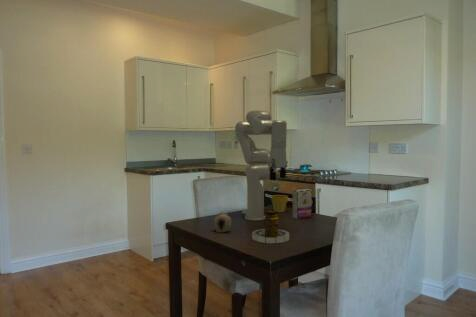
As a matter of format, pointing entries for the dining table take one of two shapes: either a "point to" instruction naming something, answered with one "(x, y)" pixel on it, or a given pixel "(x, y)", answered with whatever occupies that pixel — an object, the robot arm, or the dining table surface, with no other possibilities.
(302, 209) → the candy bar box
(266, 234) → the condiment
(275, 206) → the plant pot
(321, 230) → the dining table surface
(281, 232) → the faceted plate
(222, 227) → the garlic bulb
